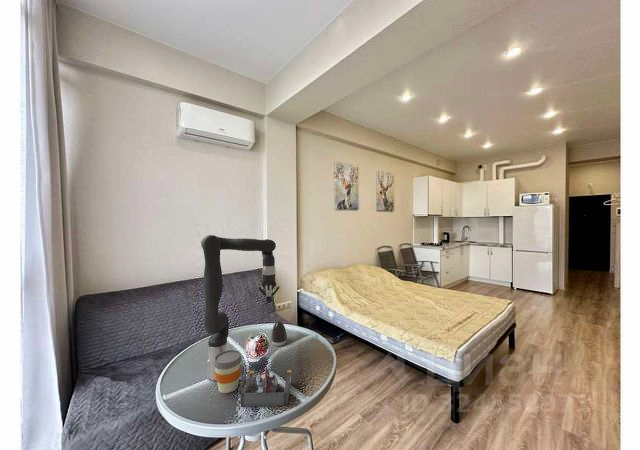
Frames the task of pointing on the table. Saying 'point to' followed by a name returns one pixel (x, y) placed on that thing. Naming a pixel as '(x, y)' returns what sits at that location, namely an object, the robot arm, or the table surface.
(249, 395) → the cradle
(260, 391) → the brake caliper
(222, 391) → the reusable coffee cup
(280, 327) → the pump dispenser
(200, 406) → the table surface
